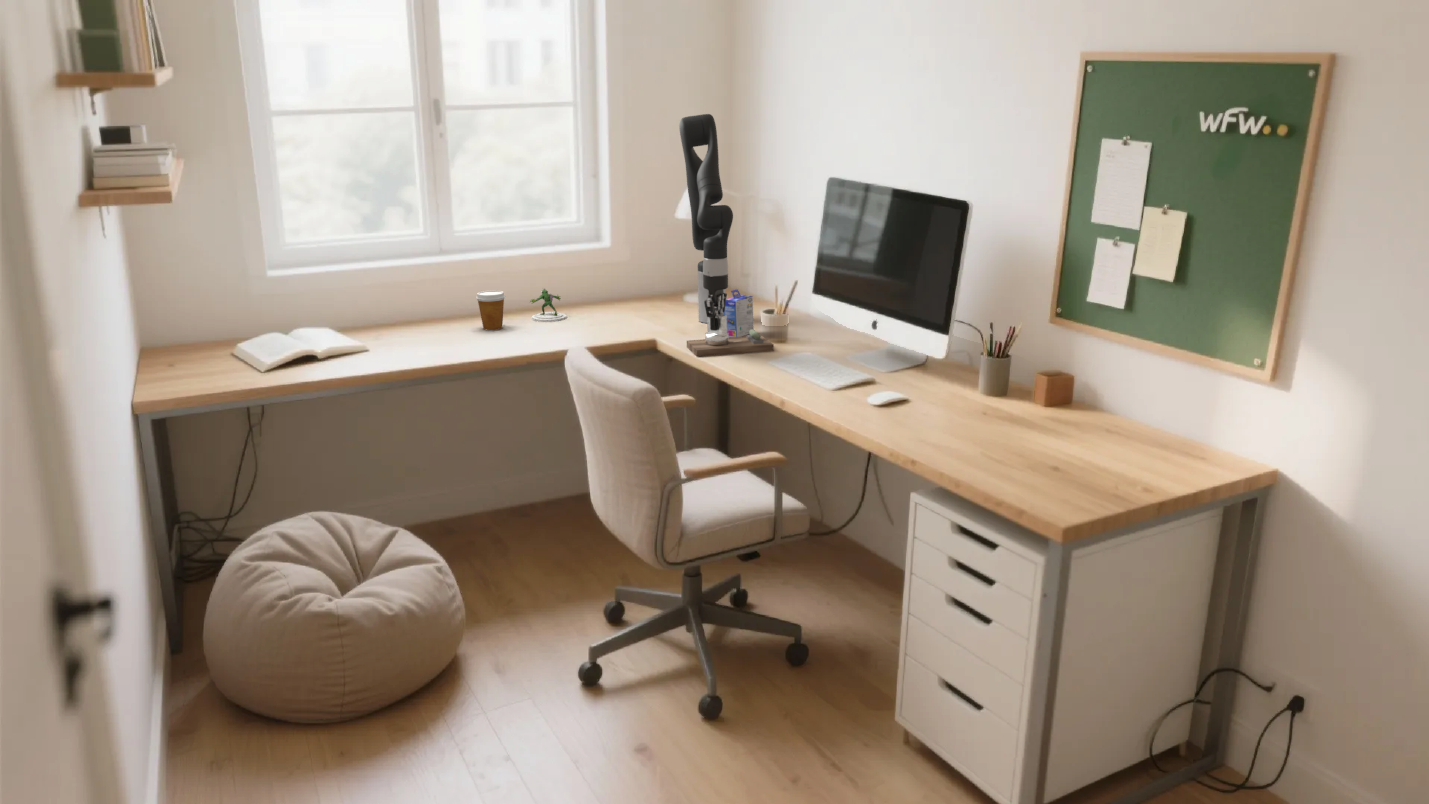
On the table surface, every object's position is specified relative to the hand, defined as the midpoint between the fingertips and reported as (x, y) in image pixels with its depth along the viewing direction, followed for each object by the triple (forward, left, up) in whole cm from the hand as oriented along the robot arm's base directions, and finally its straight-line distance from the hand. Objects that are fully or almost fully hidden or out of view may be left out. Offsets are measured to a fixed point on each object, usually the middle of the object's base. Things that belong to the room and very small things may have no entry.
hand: (716, 328), depth 338 cm
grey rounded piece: (0, 0, -5) cm, 5 cm away
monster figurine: (-63, -44, -7) cm, 77 cm away
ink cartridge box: (-18, +12, -7) cm, 23 cm away
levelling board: (0, +4, -7) cm, 8 cm away
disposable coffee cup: (-53, -64, -7) cm, 83 cm away
